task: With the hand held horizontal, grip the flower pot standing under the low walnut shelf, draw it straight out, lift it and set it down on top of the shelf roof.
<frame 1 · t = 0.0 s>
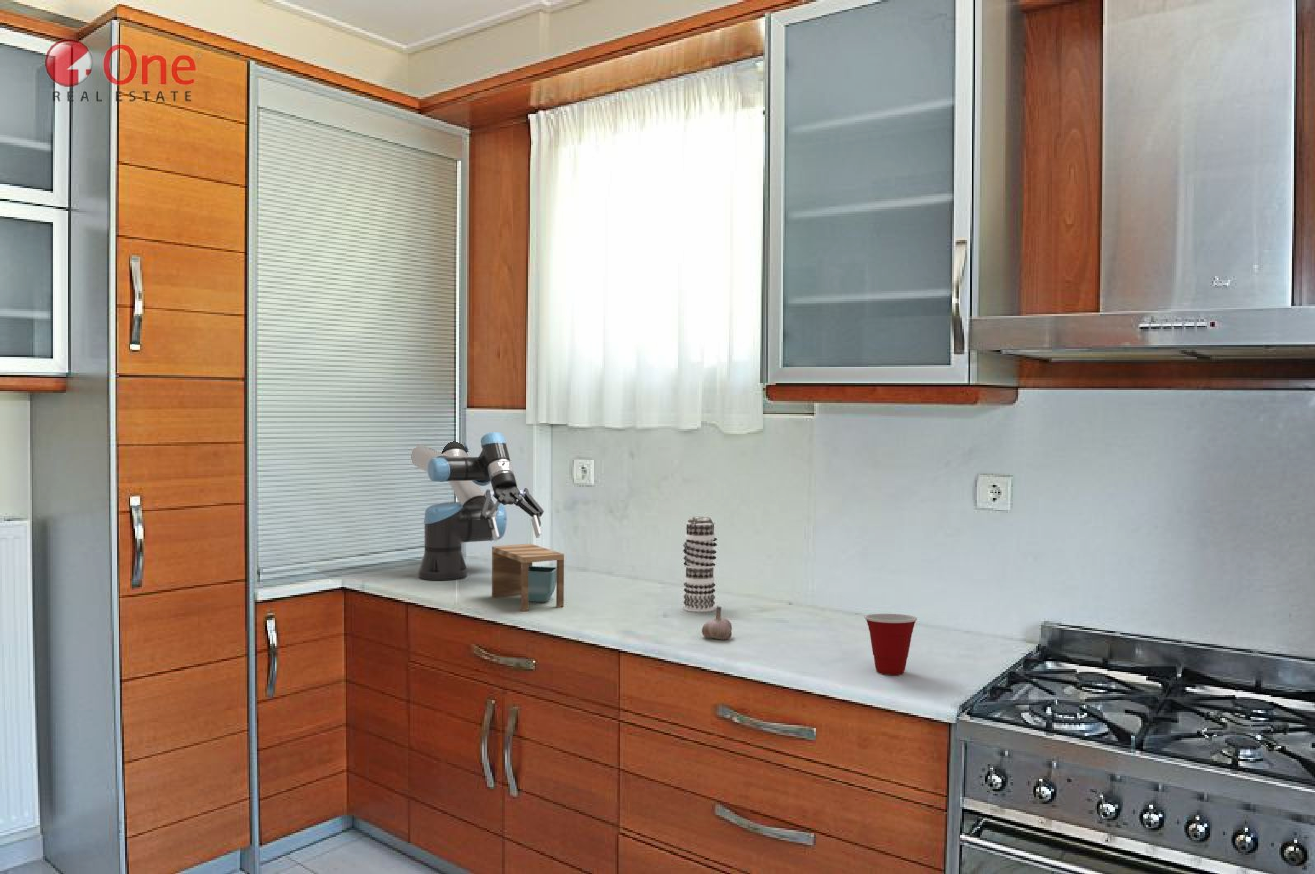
hand: (518, 537, 293), 15 cm above the countertop, tool tilted 35°, fingers open, 13 cm apart
plastic cup: (889, 672, 205), on the countertop
decorative candle: (699, 609, 267), on the countertop
garlic bulb: (716, 639, 233), on the countertop
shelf: (526, 601, 274), on the countertop
flower pot: (539, 601, 276), on the countertop
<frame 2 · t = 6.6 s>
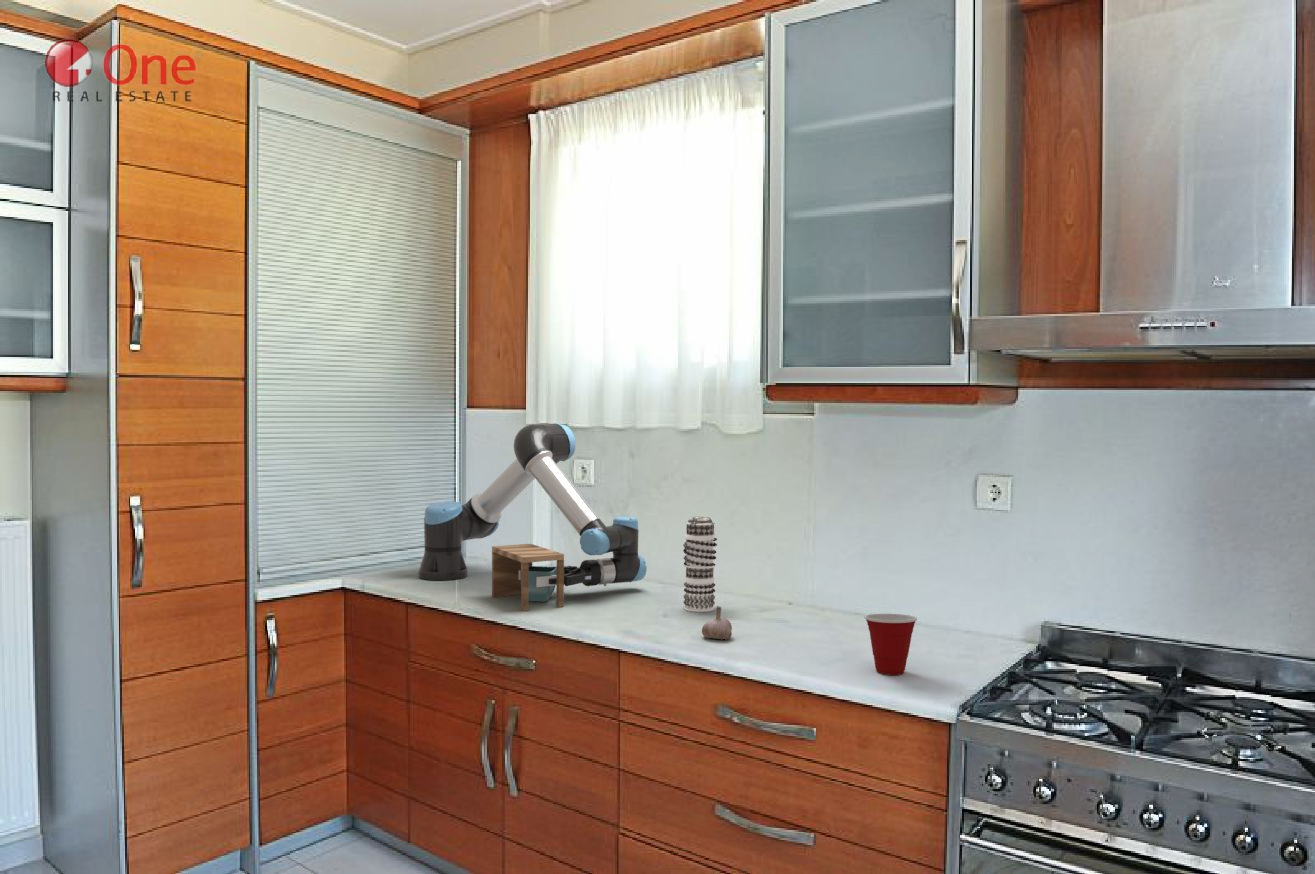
hand: (527, 578, 273), 7 cm above the countertop, tool horizontal, fingers closed on flower pot, 12 cm apart
flower pot: (539, 600, 276), on the countertop, touching gripper
everything else where it was.
when the fingers open (22 cm above the countertop, at t = 14.1 s): flower pot drops 1 cm, resting on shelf.
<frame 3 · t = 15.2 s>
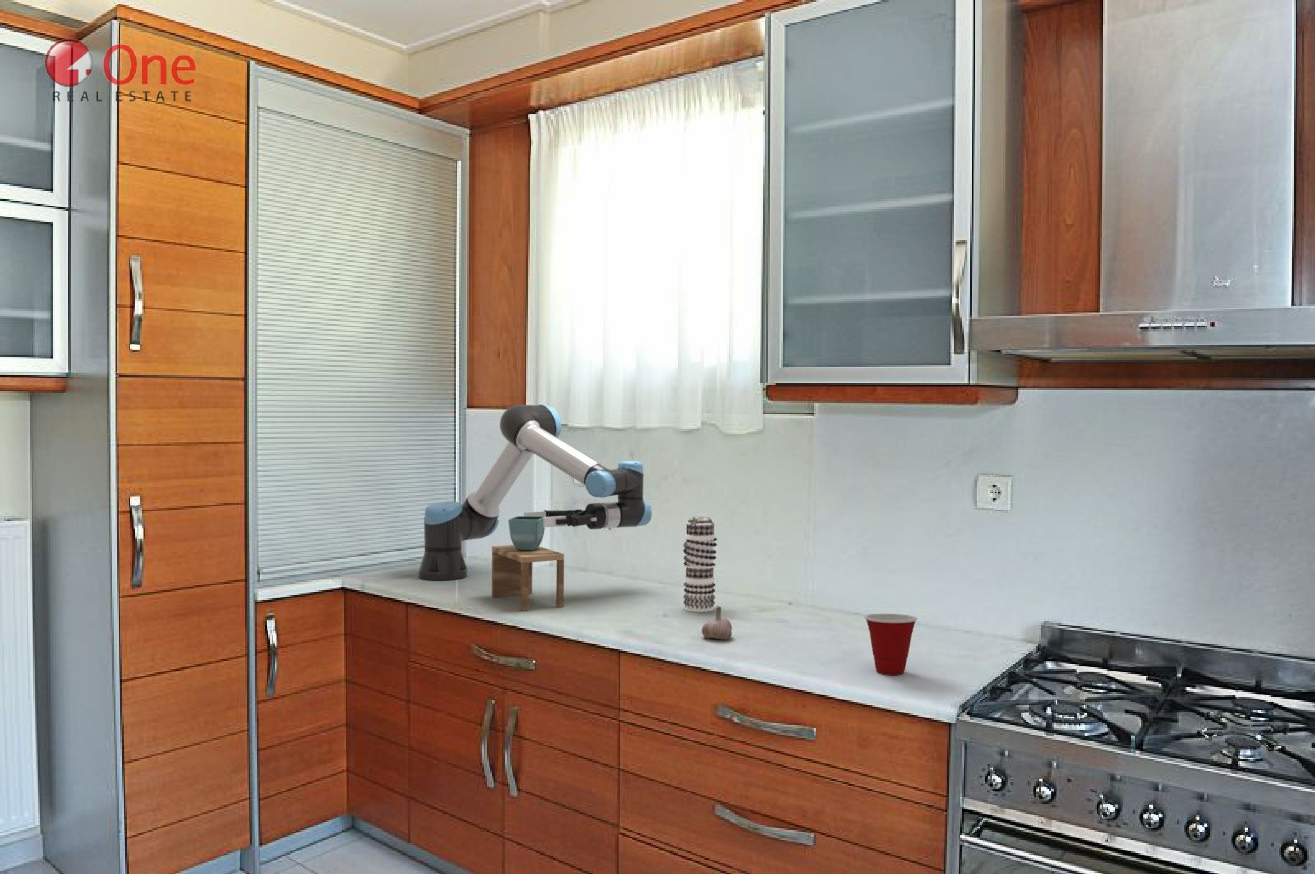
hand: (533, 519, 273), 23 cm above the countertop, tool horizontal, fingers open, 13 cm apart
flower pot: (527, 550, 274), point 14 cm above the countertop, touching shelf
everything else where it was.
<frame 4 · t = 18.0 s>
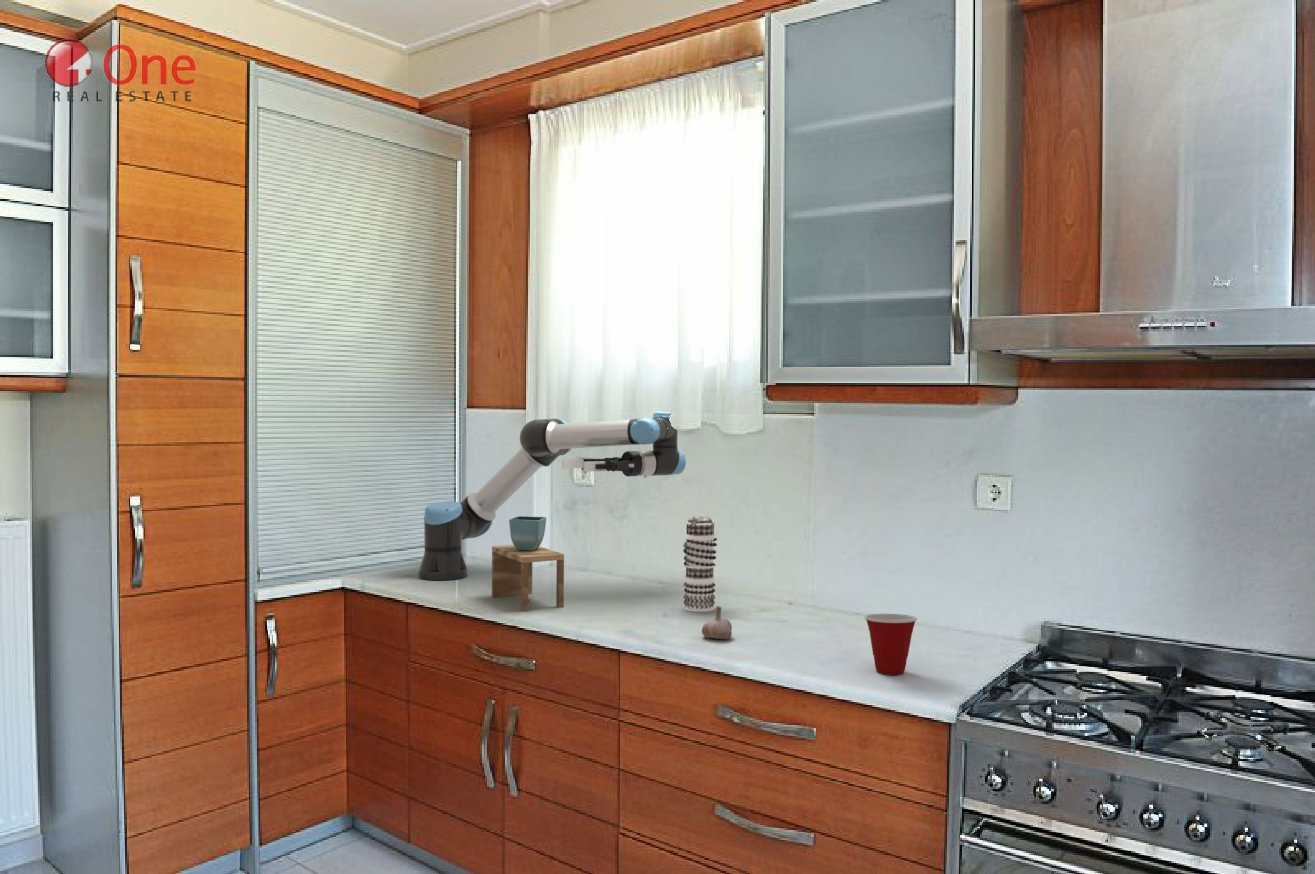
hand: (573, 465, 280), 38 cm above the countertop, tool horizontal, fingers open, 13 cm apart
nothing on the countertop moved.
at the end: flower pot inside the target area (0.9 cm from its centre), point 14.3 cm above the countertop; flower pot tilted 0°; the gripper is holding nothing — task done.
